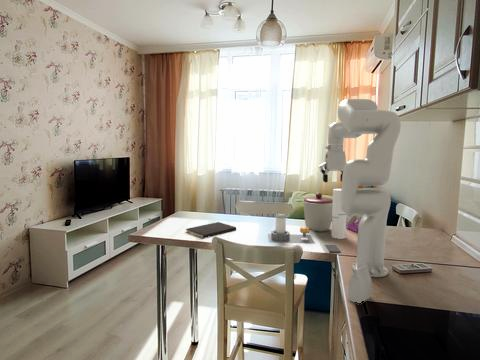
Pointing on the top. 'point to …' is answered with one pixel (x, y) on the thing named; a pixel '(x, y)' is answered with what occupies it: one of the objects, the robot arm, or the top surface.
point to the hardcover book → (211, 229)
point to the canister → (318, 212)
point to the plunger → (304, 230)
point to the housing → (288, 238)
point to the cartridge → (280, 224)
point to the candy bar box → (353, 221)
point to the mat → (333, 248)
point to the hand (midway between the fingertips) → (334, 181)
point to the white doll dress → (360, 285)
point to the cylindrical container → (338, 217)
